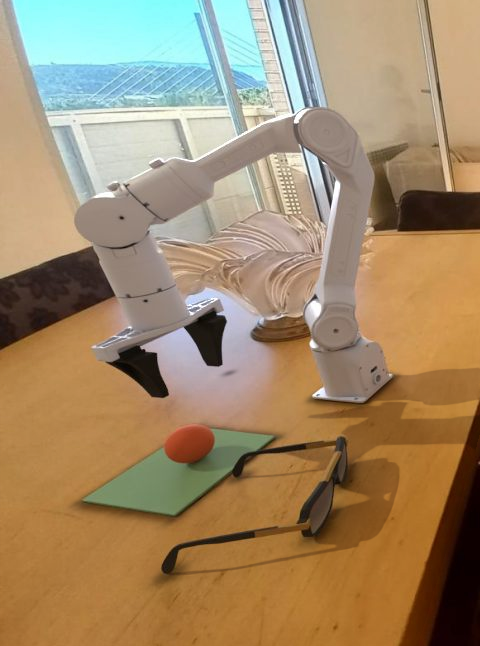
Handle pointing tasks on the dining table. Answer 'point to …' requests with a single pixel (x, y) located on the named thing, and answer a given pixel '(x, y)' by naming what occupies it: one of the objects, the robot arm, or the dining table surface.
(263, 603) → the dining table surface
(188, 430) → the egg
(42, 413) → the dining table surface
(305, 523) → the sunglasses
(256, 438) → the cloth
